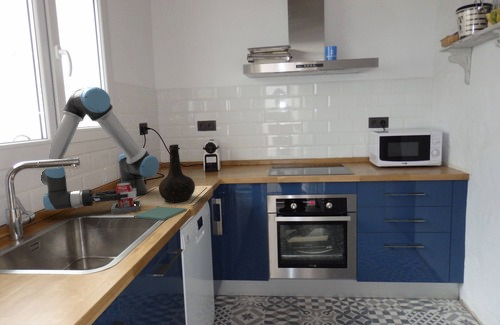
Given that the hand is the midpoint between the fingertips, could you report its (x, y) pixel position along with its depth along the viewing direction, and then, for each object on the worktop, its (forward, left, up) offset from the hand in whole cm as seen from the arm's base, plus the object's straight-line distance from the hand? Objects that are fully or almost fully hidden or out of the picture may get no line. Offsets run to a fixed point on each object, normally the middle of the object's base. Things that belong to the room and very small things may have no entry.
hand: (135, 192), depth 170 cm
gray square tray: (+3, -4, -7) cm, 9 cm away
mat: (+5, +18, -7) cm, 20 cm away
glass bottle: (-18, +10, -8) cm, 22 cm away
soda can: (+3, -4, -7) cm, 9 cm away
